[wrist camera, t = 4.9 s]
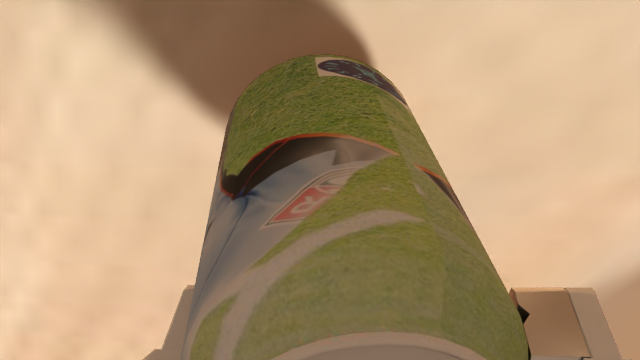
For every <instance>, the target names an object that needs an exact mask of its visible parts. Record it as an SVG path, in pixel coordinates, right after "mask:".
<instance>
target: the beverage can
mask: <svg viewBox="0 0 640 360" xmlns="http://www.w3.org/2000/svg"><path fill="white" fill-rule="evenodd" d="M181 360H528V343H527V339H526V335H525V331H524V327H523V324H522V320H521V317H520V314H519V312H518V311H517V309H516V307H515V305H514V303H513V301H512V299H511V297H510V296H509V294H508V292H507V290H506V288H505V286H504V284H503V283H502V281H501V279H500V277H499V275H498V273H497V271H496V269H495V268H494V266H493V264H492V262H491V260H490V258H489V256H488V254H487V253H486V251H485V249H484V247H483V245H482V243H481V241H480V239H479V238H478V236H477V234H476V232H475V230H474V228H473V226H472V225H471V223H470V221H469V219H468V217H467V215H466V213H465V211H464V210H463V208H462V206H461V204H460V202H459V200H458V198H457V196H456V195H455V193H454V191H453V189H452V187H451V185H450V183H449V181H448V180H447V178H446V176H445V174H444V172H443V170H442V168H441V167H440V165H439V163H438V161H437V159H436V157H435V155H434V153H433V152H432V150H431V148H430V146H429V144H428V142H427V140H426V138H425V137H424V135H423V133H422V131H421V129H420V127H419V125H418V124H417V122H416V120H415V118H414V116H413V114H412V112H411V110H410V109H409V107H408V105H407V103H406V101H405V99H404V98H403V96H402V94H401V93H400V91H399V90H398V89H397V88H396V87H395V86H394V84H393V83H392V82H391V81H390V80H389V79H388V78H386V77H385V76H384V75H383V74H381V73H380V72H379V71H378V70H376V69H374V68H372V67H370V66H368V65H367V64H365V63H363V62H360V61H357V60H354V59H351V58H348V57H342V56H335V55H309V56H304V57H299V58H294V59H291V60H288V61H286V62H283V63H281V64H278V65H276V66H274V67H273V68H271V69H269V70H268V71H266V72H264V73H263V74H261V75H260V76H259V77H258V78H257V79H255V80H254V81H253V82H252V83H251V84H250V85H249V86H248V87H247V88H246V89H245V91H244V92H243V93H242V95H241V96H240V97H239V98H238V100H237V102H236V104H235V106H234V108H233V110H232V112H231V114H230V117H229V120H228V124H227V127H226V132H225V137H224V142H223V147H222V152H221V157H220V162H219V167H218V172H217V177H216V182H215V187H214V192H213V197H212V202H211V207H210V212H209V217H208V223H207V228H206V233H205V238H204V243H203V248H202V253H201V258H200V263H199V268H198V273H197V278H196V283H195V288H194V293H193V298H192V303H191V308H190V313H189V318H188V323H187V328H186V333H185V338H184V344H183V349H182V354H181Z"/></svg>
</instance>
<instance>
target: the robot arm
mask: <svg viewBox="0 0 640 360" xmlns="http://www.w3.org/2000/svg"><path fill="white" fill-rule="evenodd" d="M194 288H195V285H188V286H187V287H186V288H185V290H184V291H183V293H182V296H181V298H180V301H179V304H178V306H177V309H176V312H175V314H174V317H173V320H172V322H171V325H170V328H169V330H168V333H167V336H166V338H165V341H164V344H163V346H162V349H154V350H153V351H152V352H151V353H150V354H149V355H147V356H146V357H145V358H144V359H143V360H181V354H182V349H183V344H184V338H185V333H186V328H187V323H188V318H189V313H190V308H191V303H192V298H193V293H194ZM509 296H510V297H511V299H512V301H513V303H514V305H515V307H516V309H517V311H518V312H519V314H520V317H521V320H522V324H523V327H524V331H525V335H526V339H527V343H528V360H632V359H623V357H622V355H621V352H620V350H619V347H618V345H617V343H616V340H615V338H614V335H613V333H612V331H611V328H610V326H609V323H608V321H607V318H606V316H605V313H604V311H603V309H602V306H601V304H600V301H599V299H598V296H597V294H596V292H595V291H594V290H593V289H592V288H562V287H552V288H511V290H510V292H509Z"/></svg>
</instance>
